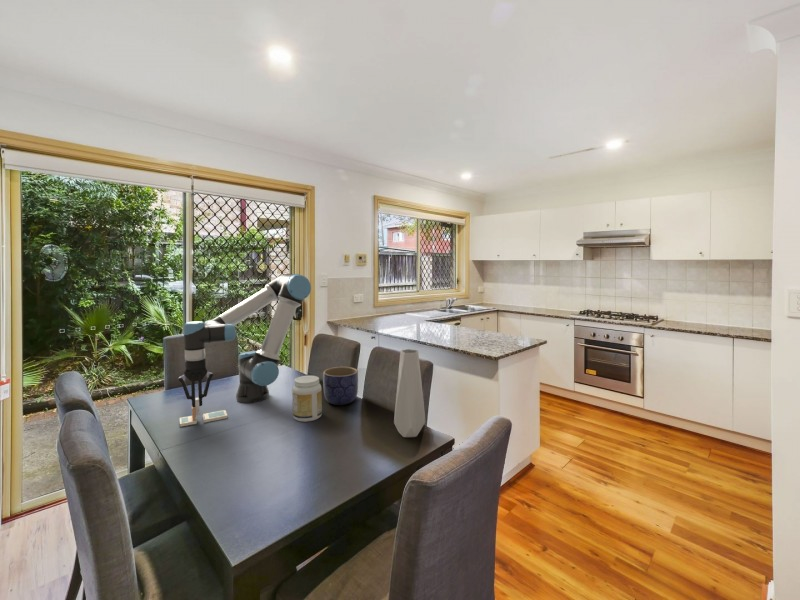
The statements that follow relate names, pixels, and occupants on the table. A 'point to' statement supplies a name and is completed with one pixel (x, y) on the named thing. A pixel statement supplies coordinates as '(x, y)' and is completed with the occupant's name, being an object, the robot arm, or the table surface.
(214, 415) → the cream tablet with screen
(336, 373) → the planter
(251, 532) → the table surface
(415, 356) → the vase
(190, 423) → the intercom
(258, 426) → the table surface
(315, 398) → the supplement tub
